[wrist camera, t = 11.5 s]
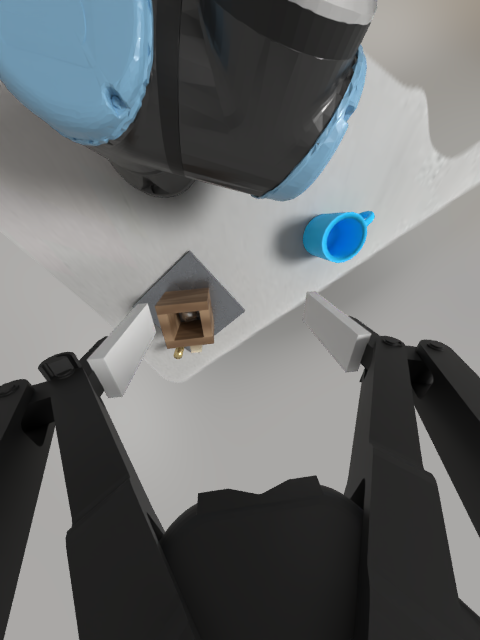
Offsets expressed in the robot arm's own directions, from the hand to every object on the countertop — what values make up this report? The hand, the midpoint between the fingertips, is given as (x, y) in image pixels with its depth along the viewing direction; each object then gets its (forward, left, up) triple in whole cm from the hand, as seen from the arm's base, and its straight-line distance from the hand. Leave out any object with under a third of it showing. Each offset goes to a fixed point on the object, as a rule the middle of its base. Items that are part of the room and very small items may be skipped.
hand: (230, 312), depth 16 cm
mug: (+11, +21, -27) cm, 36 cm away
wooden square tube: (+6, -14, -26) cm, 30 cm away
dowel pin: (+8, -21, -27) cm, 35 cm away
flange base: (+4, -13, -27) cm, 30 cm away
